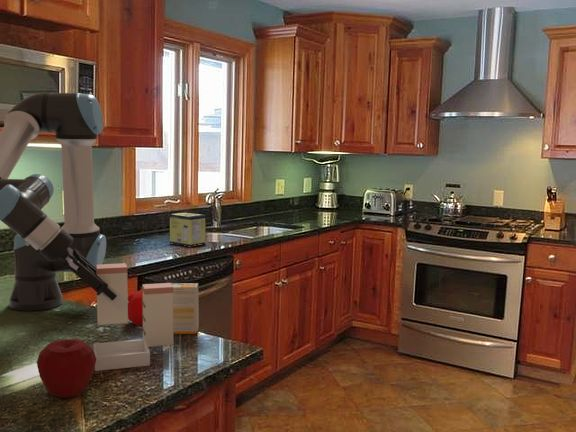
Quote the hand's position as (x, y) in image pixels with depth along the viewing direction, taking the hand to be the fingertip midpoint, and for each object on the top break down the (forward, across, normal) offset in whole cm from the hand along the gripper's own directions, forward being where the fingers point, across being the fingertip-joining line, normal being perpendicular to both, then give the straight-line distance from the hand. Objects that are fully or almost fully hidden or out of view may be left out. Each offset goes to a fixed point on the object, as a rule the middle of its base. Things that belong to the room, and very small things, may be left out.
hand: (123, 302), depth 143 cm
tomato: (+14, -17, -3) cm, 22 cm away
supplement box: (+19, -8, +3) cm, 21 cm away
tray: (+7, +10, -9) cm, 15 cm away
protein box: (+39, -144, +19) cm, 150 cm away
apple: (-1, +26, -17) cm, 31 cm away
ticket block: (+14, 0, -2) cm, 14 cm away
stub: (+1, 0, -5) cm, 5 cm away
